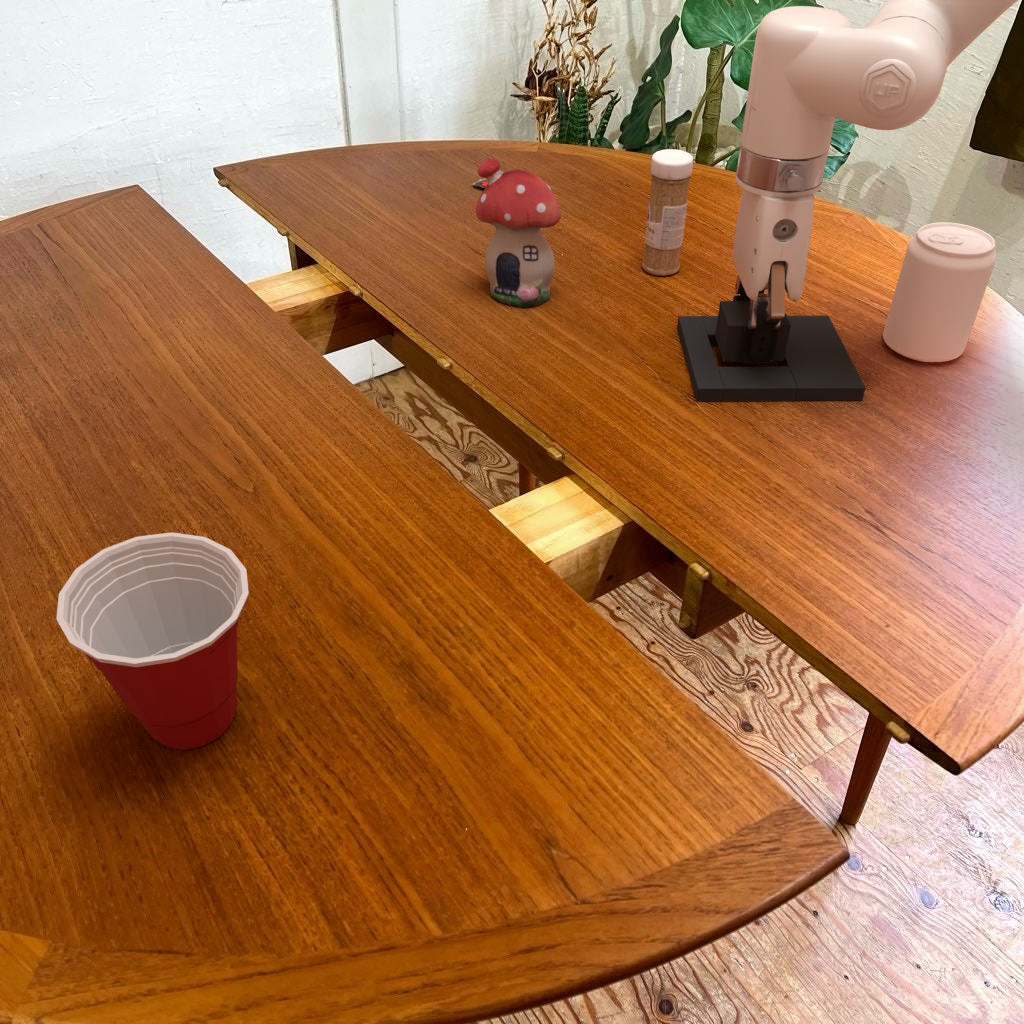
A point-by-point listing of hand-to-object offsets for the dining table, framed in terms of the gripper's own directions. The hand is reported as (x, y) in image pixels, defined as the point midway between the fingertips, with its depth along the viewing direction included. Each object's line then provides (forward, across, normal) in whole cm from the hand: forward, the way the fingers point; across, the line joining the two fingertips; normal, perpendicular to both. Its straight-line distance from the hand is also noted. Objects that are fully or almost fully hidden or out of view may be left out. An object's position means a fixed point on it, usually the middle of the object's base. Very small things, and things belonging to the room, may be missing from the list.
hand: (750, 344), depth 96 cm
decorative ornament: (+2, +15, +23) cm, 28 cm away
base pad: (+2, 0, -2) cm, 3 cm away
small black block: (0, 0, 0) cm, 0 cm away
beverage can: (+3, +3, -19) cm, 19 cm away
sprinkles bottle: (+2, +21, +6) cm, 22 cm away
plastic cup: (+2, -44, +45) cm, 63 cm away
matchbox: (+2, +46, +26) cm, 53 cm away
